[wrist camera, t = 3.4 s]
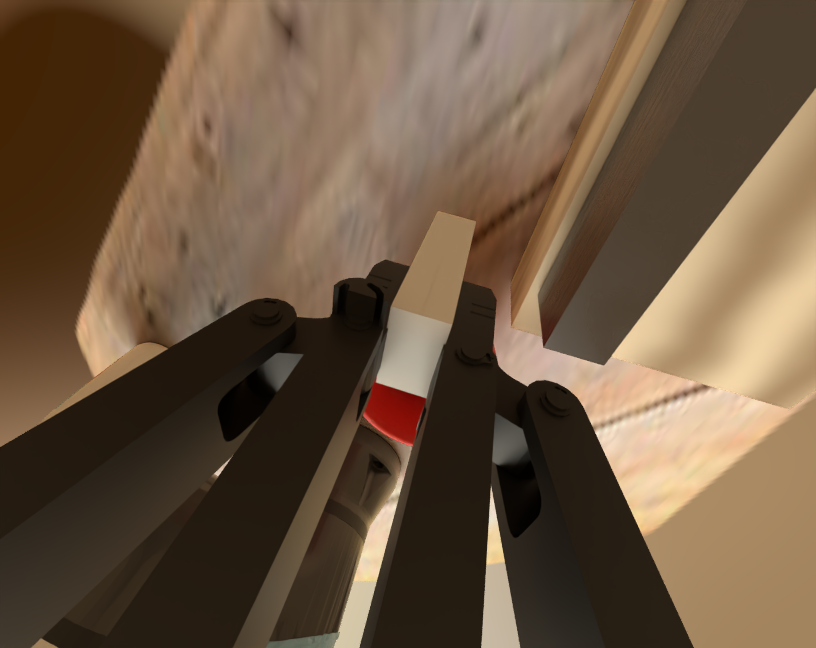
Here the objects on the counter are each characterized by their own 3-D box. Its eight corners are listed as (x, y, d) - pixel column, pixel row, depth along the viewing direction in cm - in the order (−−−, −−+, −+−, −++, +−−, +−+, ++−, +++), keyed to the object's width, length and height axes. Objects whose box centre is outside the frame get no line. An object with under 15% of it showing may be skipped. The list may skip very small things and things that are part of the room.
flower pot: (532, 300, 29) (540, 387, 21) (469, 382, 36) (459, 470, 28) (412, 244, 28) (377, 313, 21) (372, 338, 35) (334, 415, 27)
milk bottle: (150, 330, 42) (-61, 489, 27) (204, 373, 45) (40, 540, 29) (129, 355, 46) (-66, 506, 31) (179, 392, 49) (24, 549, 33)
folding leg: (792, -232, 10) (970, -415, 6) (925, -208, 10) (1196, -381, 6) (532, 293, 21) (537, 345, 18) (591, 310, 21) (610, 367, 17)
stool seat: (510, 282, 28) (511, 327, 24) (725, -206, 14) (833, -338, 9) (741, 348, 27) (789, 409, 22) (1227, -108, 13) (1637, -204, 8)
